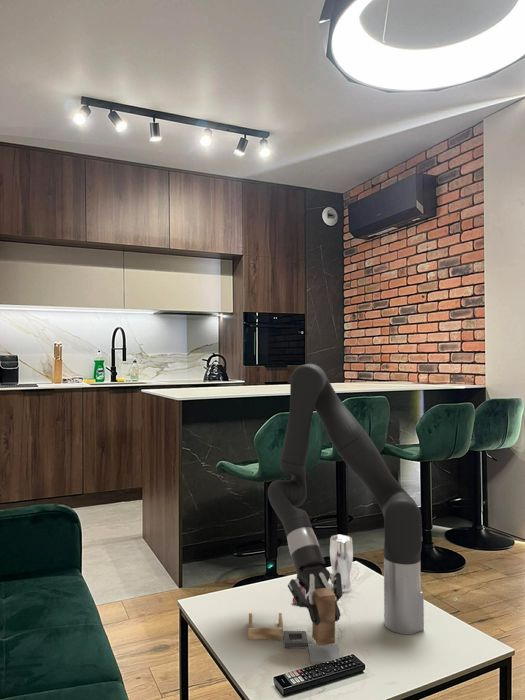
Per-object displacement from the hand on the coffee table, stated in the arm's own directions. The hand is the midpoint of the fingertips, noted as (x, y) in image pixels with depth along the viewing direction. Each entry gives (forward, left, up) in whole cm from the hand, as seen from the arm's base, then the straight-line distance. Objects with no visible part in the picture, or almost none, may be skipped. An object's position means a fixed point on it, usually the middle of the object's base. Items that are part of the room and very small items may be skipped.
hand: (327, 621), depth 118 cm
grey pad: (0, -2, -8) cm, 9 cm away
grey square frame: (+7, -8, -8) cm, 13 cm away
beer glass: (-10, -38, -9) cm, 40 cm away
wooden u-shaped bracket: (+14, -13, -8) cm, 21 cm away
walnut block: (+1, -2, -5) cm, 5 cm away
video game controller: (+2, -32, -9) cm, 33 cm away
